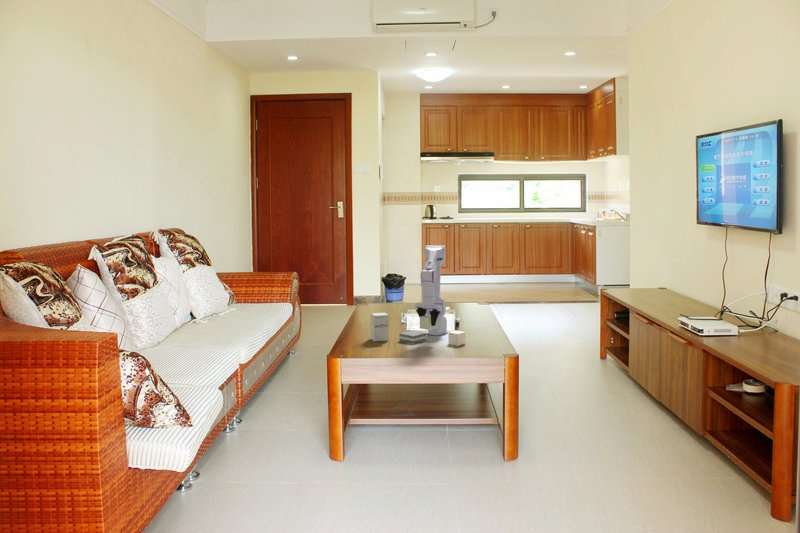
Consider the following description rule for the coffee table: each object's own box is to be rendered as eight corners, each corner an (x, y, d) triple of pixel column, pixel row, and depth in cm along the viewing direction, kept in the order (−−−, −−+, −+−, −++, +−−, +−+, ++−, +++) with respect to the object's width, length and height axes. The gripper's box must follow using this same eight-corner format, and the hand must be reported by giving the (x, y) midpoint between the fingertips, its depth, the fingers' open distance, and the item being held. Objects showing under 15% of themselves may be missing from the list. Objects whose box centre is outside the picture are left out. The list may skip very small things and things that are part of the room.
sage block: (427, 326, 320) (427, 314, 319) (436, 328, 316) (436, 316, 316) (419, 328, 316) (419, 316, 315) (429, 330, 312) (429, 317, 312)
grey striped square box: (412, 338, 329) (412, 330, 329) (426, 341, 323) (426, 333, 323) (399, 341, 323) (399, 333, 322) (413, 344, 316) (413, 336, 316)
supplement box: (373, 342, 321) (373, 315, 320) (370, 338, 329) (370, 313, 327) (389, 340, 323) (388, 314, 322) (385, 337, 330) (385, 312, 329)
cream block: (455, 342, 320) (455, 330, 319) (465, 343, 316) (465, 332, 316) (448, 344, 316) (448, 332, 315) (458, 345, 312) (458, 333, 311)
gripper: (410, 295, 316) (410, 324, 318) (435, 298, 307) (435, 328, 308) (420, 293, 321) (420, 322, 323) (444, 296, 312) (444, 325, 313)
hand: (428, 324), depth 316 cm, fingers closed on sage block, 6 cm apart
